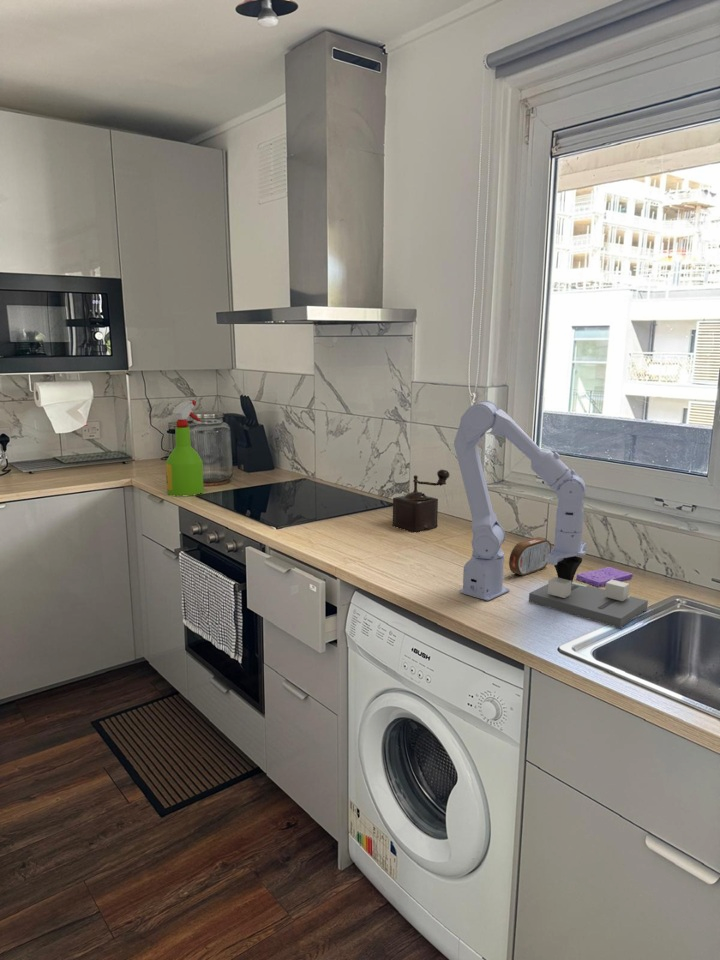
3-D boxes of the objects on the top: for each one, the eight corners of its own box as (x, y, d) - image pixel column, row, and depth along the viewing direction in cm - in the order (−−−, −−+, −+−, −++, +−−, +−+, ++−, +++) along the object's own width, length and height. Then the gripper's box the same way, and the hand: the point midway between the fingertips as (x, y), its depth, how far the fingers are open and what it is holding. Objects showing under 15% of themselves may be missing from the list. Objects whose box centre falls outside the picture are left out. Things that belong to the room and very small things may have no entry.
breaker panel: (620, 627, 142) (621, 618, 141) (528, 601, 156) (529, 592, 155) (647, 609, 152) (647, 600, 151) (558, 586, 166) (559, 577, 165)
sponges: (575, 581, 171) (576, 573, 171) (609, 572, 178) (609, 565, 177) (599, 589, 165) (599, 582, 165) (632, 580, 172) (633, 573, 171)
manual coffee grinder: (416, 533, 211) (417, 475, 208) (391, 526, 219) (392, 470, 216) (450, 525, 221) (452, 469, 217) (425, 518, 229) (427, 465, 226)
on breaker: (622, 601, 150) (623, 587, 149) (604, 596, 153) (605, 582, 152) (628, 597, 152) (629, 583, 151) (610, 593, 155) (611, 579, 154)
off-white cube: (564, 598, 152) (565, 584, 151) (547, 593, 154) (548, 579, 154) (570, 594, 154) (571, 580, 153) (554, 590, 156) (555, 576, 156)
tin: (542, 564, 182) (543, 533, 181) (552, 567, 180) (554, 535, 178) (507, 576, 173) (508, 544, 171) (517, 579, 170) (519, 546, 169)
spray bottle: (217, 488, 274) (214, 400, 267) (189, 498, 258) (185, 403, 251) (189, 485, 279) (185, 398, 272) (159, 494, 263) (155, 402, 256)
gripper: (570, 539, 145) (566, 601, 148) (600, 526, 156) (596, 584, 158) (539, 533, 150) (536, 592, 153) (571, 521, 160) (567, 577, 163)
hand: (564, 588), depth 156 cm, fingers closed
